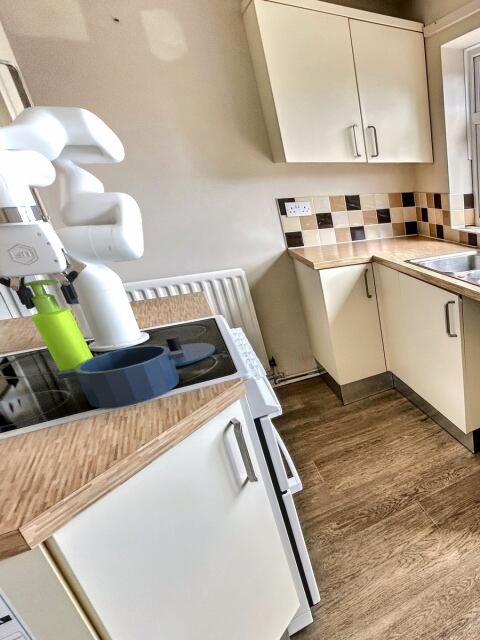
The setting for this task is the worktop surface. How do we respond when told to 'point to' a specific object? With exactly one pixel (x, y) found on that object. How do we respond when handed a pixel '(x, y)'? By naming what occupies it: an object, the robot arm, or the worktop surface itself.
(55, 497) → the worktop surface
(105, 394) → the pan
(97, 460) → the worktop surface
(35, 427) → the worktop surface
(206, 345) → the pan lid
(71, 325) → the soap dispenser
